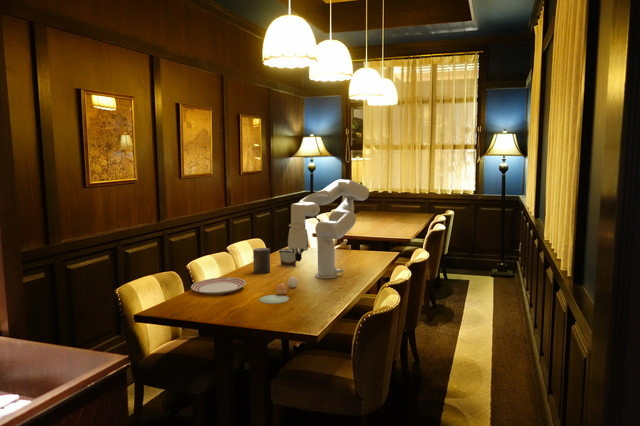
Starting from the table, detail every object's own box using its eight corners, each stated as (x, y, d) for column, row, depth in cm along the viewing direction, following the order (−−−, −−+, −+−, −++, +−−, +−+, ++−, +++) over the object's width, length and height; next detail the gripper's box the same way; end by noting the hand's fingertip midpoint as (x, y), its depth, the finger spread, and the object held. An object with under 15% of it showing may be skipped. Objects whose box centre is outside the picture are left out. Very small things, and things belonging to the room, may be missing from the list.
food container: (301, 264, 315) (300, 248, 314) (297, 266, 309) (297, 250, 308) (283, 263, 319) (282, 248, 318) (279, 265, 313) (278, 249, 312)
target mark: (286, 294, 247) (286, 294, 247) (291, 302, 233) (291, 301, 233) (257, 296, 244) (257, 296, 244) (260, 304, 230) (260, 304, 230)
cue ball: (297, 285, 264) (296, 275, 263) (299, 288, 258) (298, 277, 258) (286, 286, 262) (286, 276, 262) (288, 289, 257) (288, 278, 256)
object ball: (286, 292, 250) (286, 281, 250) (288, 295, 245) (288, 284, 244) (275, 293, 249) (275, 282, 249) (277, 296, 244) (276, 285, 243)
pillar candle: (267, 274, 290) (266, 248, 289) (251, 273, 292) (250, 248, 291) (272, 270, 300) (271, 245, 298) (256, 270, 302) (256, 245, 300)
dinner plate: (220, 300, 240) (219, 293, 239) (179, 292, 254) (179, 286, 254) (256, 287, 263) (256, 281, 262) (217, 281, 277) (217, 275, 277)
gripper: (282, 226, 265) (282, 261, 266) (309, 228, 260) (309, 263, 261) (288, 225, 272) (288, 258, 273) (314, 226, 267) (314, 260, 268)
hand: (298, 260), depth 267 cm, fingers closed
